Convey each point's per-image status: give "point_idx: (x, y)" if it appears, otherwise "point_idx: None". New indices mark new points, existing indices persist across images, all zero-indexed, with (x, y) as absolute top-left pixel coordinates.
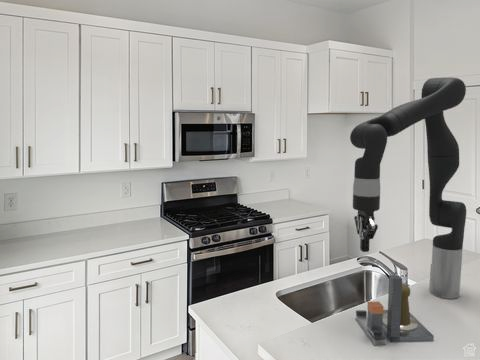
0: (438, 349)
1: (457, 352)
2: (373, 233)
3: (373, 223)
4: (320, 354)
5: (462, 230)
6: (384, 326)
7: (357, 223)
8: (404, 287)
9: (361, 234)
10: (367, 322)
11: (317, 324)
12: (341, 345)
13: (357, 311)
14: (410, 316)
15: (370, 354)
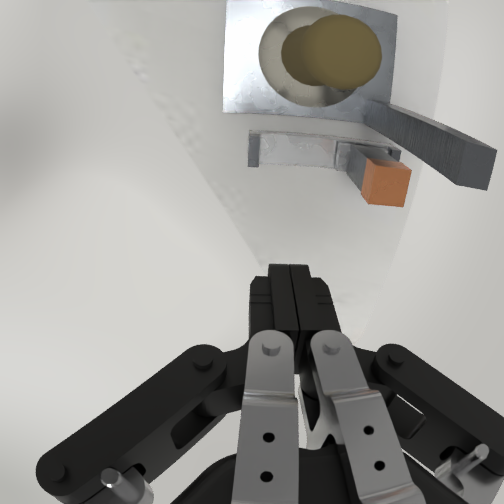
0: (424, 34)
1: (438, 5)
2: (459, 401)
3: (498, 486)
4: (381, 283)
5: None
6: (333, 112)
7: (161, 472)
8: (372, 50)
9: (304, 412)
10: (349, 176)
11: (267, 262)
12: (366, 238)
13: (254, 164)
14: (280, 3)
15: (411, 194)
